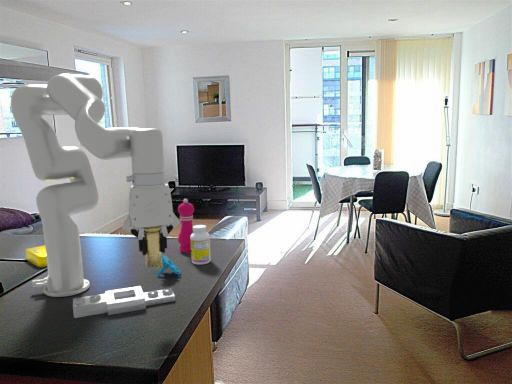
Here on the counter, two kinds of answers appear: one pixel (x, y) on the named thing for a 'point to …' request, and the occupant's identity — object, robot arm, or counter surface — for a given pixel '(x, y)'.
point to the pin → (153, 246)
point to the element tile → (37, 256)
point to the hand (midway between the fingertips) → (153, 251)
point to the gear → (167, 266)
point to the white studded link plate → (120, 301)
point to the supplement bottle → (200, 245)
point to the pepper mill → (185, 225)
